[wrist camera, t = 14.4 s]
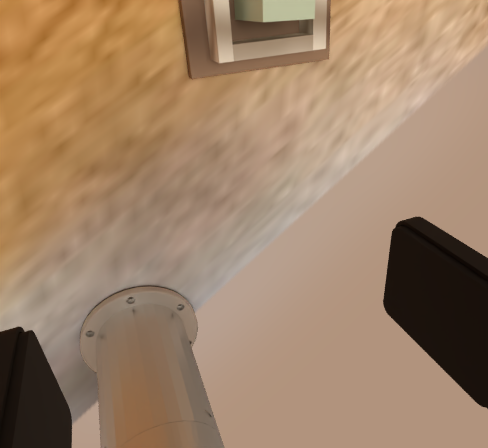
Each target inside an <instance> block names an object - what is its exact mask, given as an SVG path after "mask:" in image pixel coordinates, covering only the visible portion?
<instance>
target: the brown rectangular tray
mask: <svg viewBox="0 0 488 448" xmlns="http://www.w3.org/2000/svg"><path fill="white" fill-rule="evenodd" d="M330 3H331V0H315V19H305V20H290V21H275V22H254V21H244V20H235V6H234V0H179V7H180V14H181V21H182V29H183V36H184V43H185V50H186V57H187V65H188V72H189V77H190V78H191V79H196V78H202V77H209V76H216V75H223V74H230V73H237V72H244V71H251V70H258V69H264V68H271V67H278V66H285V65H292V64H299V63H306V62H313V61H320V60H326V59H329V41H330Z"/></svg>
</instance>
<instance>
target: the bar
mask: <svg viewBox="0 0 488 448" xmlns="http://www.w3.org/2000/svg"><path fill="white" fill-rule="evenodd" d="M234 6H235V20H244V21H254V22H275V21H290V20H305V19H315V0H234Z"/></svg>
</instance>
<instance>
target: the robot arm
mask: <svg viewBox="0 0 488 448" xmlns="http://www.w3.org/2000/svg"><path fill="white" fill-rule="evenodd" d="M383 304H384V308H385V310H386V312H387V313H388V315H389V316H391V318H392V319H393V320H394V321H395V322H396V323H397V324H398V325H399V326H400V327H402V329H403V330H404V331H405V332H407V334H408V335H409V336H410V337H411V338H412V339H413V340H415V342H416V343H417V344H418V345H419V346H420V347H422V349H423V350H425V352H427V354H428V355H429V356H430V357H431V358H432V359H434V361H436V363H438V365H440V367H441V368H443V370H444V371H445V372H446V373H447V374H448V375H450V377H452V379H453V380H455V382H456V383H458V385H459V386H461V387H462V389H463V390H464V391H465V392H466V393H468V395H470V397H472V398H473V399H474V400H475V402H477V403H478V404H479V405H481V406H482V407H487V408H488V258H487V257H485V256H483V255H482V254H480V253H478V252H477V251H475V250H474V249H472V248H470V247H469V246H467V245H466V244H464V243H462V242H461V241H459V240H457V239H456V238H454V237H453V236H451V235H449V234H448V233H446V232H445V231H443V230H441V229H440V228H438V227H436V226H435V225H433V224H432V223H430V222H428V221H427V220H425V219H423V218H421V217H413V218H410V219H406V220H403V221H400V222H398V223H397V225H396V227H395V229H393V231H392V236H391V245H390V252H389V260H388V268H387V276H386V284H385V293H384V300H383ZM197 330H198V326H197V319H196V316H195V313H194V311H193V308H192V306H191V305H190V304H189V302H188V301H187V300H186V299H185V298H184V297H182V296H181V295H180V294H178V293H176V292H174V291H171V290H169V289H165V288H161V287H150V286H148V287H136V288H132V289H128V290H124V291H122V292H119V293H117V294H114V295H112V296H111V297H109V298H107V299H106V300H104V301H103V302H101V303H100V304H99V305H98V306H97V307H95V308H94V309H93V311H92V312H91V313H90V314H89V315H88V317H87V318H86V320H85V322H84V324H83V326H82V330H81V333H80V351H81V355H82V357H83V360H84V361H85V363H86V364H87V365H88V367H89V368H90V369H92V370H93V371H94V372H95V373H97V381H98V401H99V420H100V439H101V448H224V445H223V442H222V439H221V436H220V433H219V430H218V427H217V424H216V421H215V418H214V415H213V412H212V409H211V406H210V403H209V400H208V397H207V394H206V391H205V388H204V385H203V382H202V379H201V376H200V373H199V369H198V366H197V363H196V360H195V358H194V354H193V352H192V346H193V344H194V342H195V339H196V336H197ZM71 443H72V419H71V413H70V409H69V406H68V404H67V402H66V400H65V398H64V395H63V393H62V391H61V389H60V387H59V385H58V383H57V380H56V378H55V376H54V374H53V372H52V370H51V367H50V365H49V363H48V361H47V359H46V357H45V354H44V352H43V350H42V348H41V346H40V344H39V341H38V339H37V337H36V335H35V333H34V332H33V331H32V330H30V331H27V332H25V331H24V330H23V328H22V327H16V328H13V329H9V330H5V331H2V332H0V448H71Z"/></svg>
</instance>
